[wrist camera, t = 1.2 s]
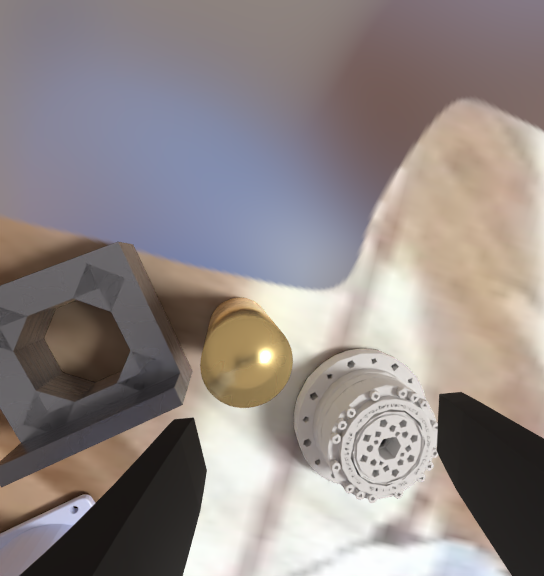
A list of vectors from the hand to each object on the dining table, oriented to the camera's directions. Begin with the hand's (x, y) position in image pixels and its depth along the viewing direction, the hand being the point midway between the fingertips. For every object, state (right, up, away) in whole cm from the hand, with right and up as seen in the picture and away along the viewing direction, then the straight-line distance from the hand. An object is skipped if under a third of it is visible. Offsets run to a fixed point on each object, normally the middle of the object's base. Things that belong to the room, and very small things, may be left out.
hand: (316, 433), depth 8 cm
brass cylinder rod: (-4, +2, +11) cm, 11 cm away
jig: (-12, +1, +9) cm, 16 cm away
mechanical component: (+5, -5, +13) cm, 15 cm away
